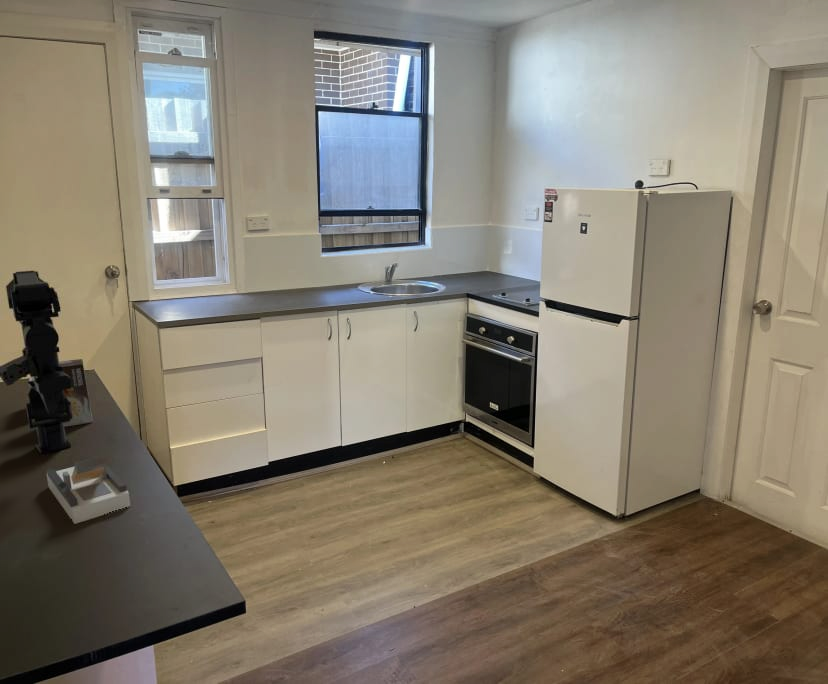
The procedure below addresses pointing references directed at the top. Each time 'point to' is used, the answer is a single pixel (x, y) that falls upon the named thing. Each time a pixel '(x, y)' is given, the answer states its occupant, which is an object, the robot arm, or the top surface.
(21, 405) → the top surface
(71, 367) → the coffee box
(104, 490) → the tray
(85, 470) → the lever
